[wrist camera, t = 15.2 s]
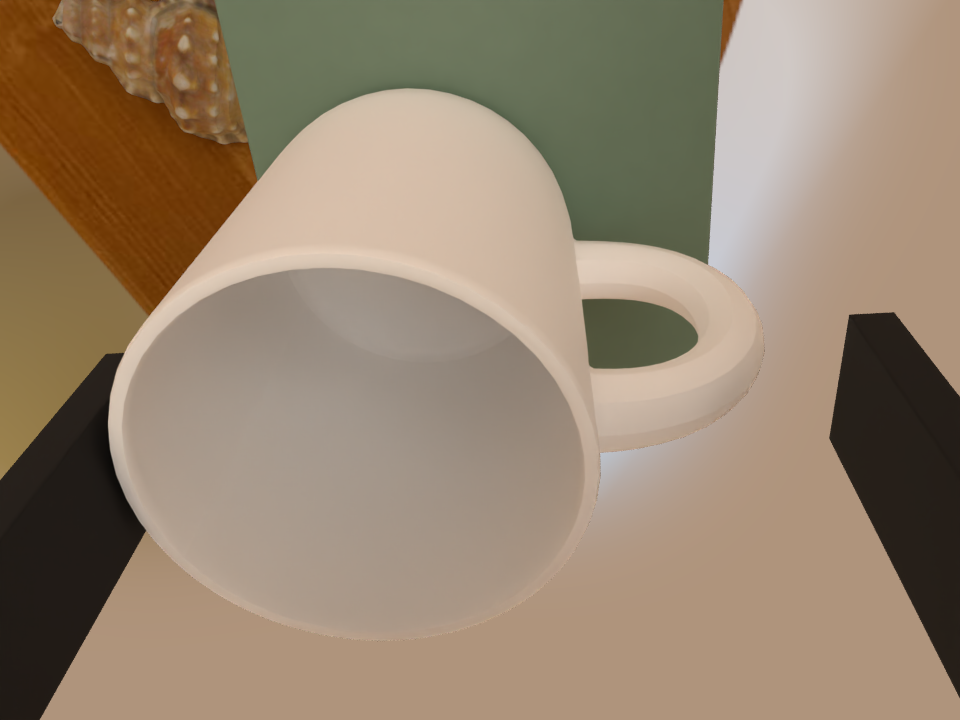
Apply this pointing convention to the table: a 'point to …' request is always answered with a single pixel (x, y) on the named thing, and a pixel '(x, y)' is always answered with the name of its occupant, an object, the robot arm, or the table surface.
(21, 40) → the table surface
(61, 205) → the table surface
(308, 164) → the mug
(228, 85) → the seashell
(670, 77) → the shelf
